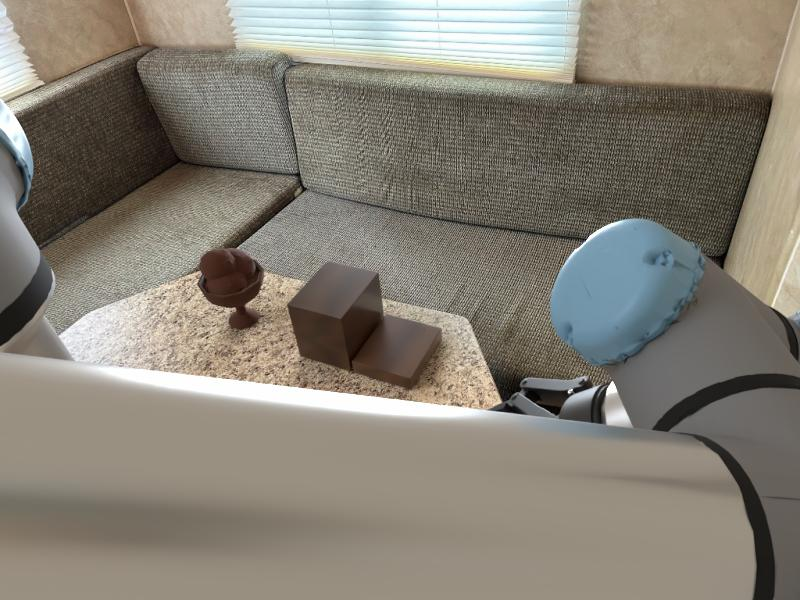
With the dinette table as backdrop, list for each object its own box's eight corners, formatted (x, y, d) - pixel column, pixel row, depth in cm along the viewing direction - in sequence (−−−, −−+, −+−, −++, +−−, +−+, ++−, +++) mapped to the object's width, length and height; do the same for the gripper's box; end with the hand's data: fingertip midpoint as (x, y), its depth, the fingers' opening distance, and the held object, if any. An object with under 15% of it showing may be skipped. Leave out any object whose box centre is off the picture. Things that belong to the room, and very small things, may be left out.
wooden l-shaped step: (300, 356, 98) (286, 304, 91) (337, 311, 106) (327, 260, 100) (411, 390, 91) (406, 336, 84) (442, 338, 99) (439, 286, 92)
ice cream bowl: (256, 345, 101) (233, 273, 92) (200, 333, 105) (173, 263, 95) (286, 305, 109) (268, 235, 99) (233, 295, 112) (211, 227, 103)
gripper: (636, 633, 35) (418, 632, 50) (685, 351, 52) (510, 414, 67) (552, 552, 34) (354, 576, 49) (630, 290, 51) (465, 368, 66)
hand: (444, 483), depth 58 cm, fingers open, 13 cm apart
